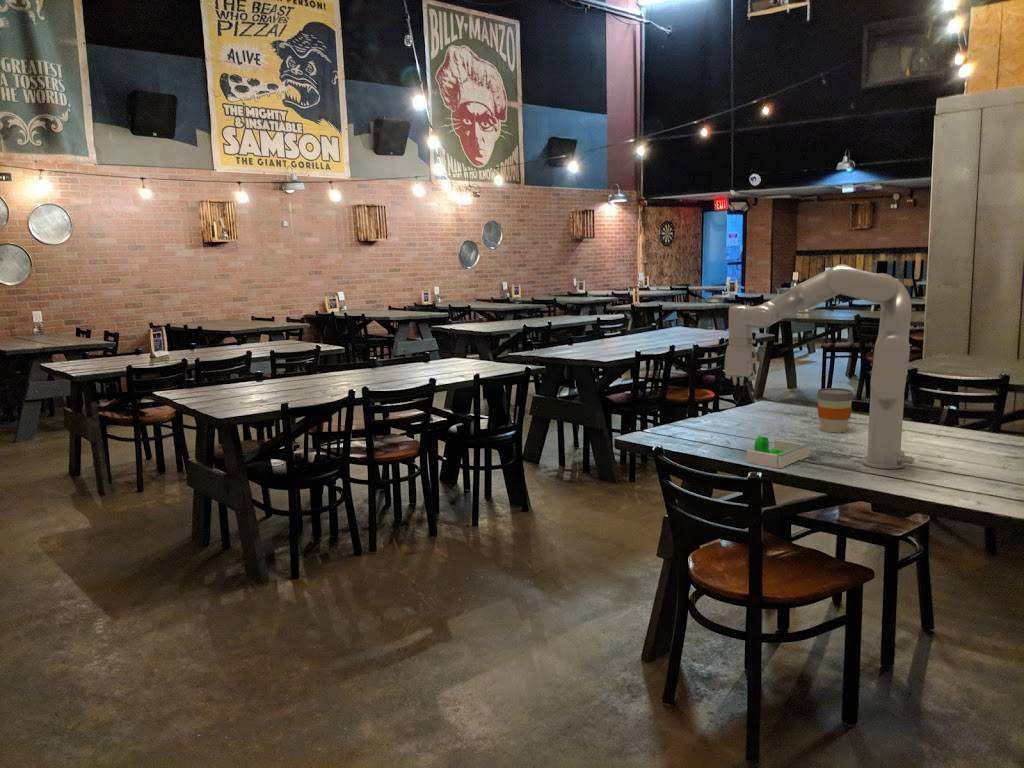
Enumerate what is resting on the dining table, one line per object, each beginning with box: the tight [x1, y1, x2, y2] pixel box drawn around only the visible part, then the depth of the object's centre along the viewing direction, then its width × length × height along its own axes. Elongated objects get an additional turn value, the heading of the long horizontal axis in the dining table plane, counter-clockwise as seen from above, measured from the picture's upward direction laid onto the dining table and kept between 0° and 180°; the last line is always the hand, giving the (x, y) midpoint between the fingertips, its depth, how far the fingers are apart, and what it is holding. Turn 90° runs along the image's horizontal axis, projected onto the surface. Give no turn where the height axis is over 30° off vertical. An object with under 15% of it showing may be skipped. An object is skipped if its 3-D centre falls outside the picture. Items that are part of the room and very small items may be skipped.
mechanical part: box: [753, 435, 785, 455], centre depth 258 cm, size 12×6×8 cm, turn 133°
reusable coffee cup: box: [816, 387, 854, 433], centre depth 294 cm, size 13×13×15 cm
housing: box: [746, 439, 811, 469], centre depth 257 cm, size 12×19×4 cm, turn 134°
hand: (740, 396), depth 265 cm, fingers closed
